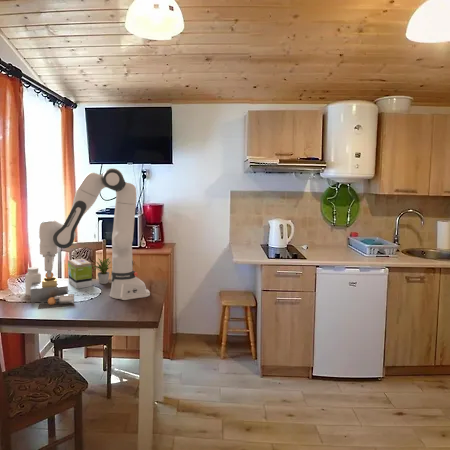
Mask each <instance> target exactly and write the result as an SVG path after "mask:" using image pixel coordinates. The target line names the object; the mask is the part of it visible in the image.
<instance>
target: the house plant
mask: <svg viewBox="0 0 450 450" xmlns="http://www.w3.org/2000/svg"><path fill="white" fill-rule="evenodd" d="M97 260H98V261H99V262H98V261H95V260H94V263H96V264H97V265H93V264H92V267H94V268H93V271H96V270H98V271H99V272H97V276H98V283H99V284H101V285H106V284H108V282H109V277H110V272H109V271H108V270H109V269H111V268H112V266H111V267H110V264H112V262H111V261H112V260H110V257H108V258H106V259H105V257H104V258H103V260H102V259H100V258H99V257H97Z"/></svg>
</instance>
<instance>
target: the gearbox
mask: <svg viewBox="0 0 450 450" xmlns="http://www.w3.org/2000/svg"><path fill="white" fill-rule="evenodd" d="M68 283H69V279H68V280H58V277H57V276H53V277H52V278H51V279H47V278H46V277H42V278H41V282H36V283H32V286H31V289H30V290H31V296H30V303H31V304H34V303H48V299H49V298H51V297H53V298H55V296H59V295H68V294H69V284H68ZM56 302H59V300H56Z"/></svg>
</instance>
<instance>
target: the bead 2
mask: <svg viewBox="0 0 450 450" xmlns="http://www.w3.org/2000/svg"><path fill="white" fill-rule="evenodd" d="M56 302H57V301H56V300H55V298H53V297H51V298H49V299H48V302H47V303H48V304H49V305H54V304H55V303H56Z"/></svg>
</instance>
